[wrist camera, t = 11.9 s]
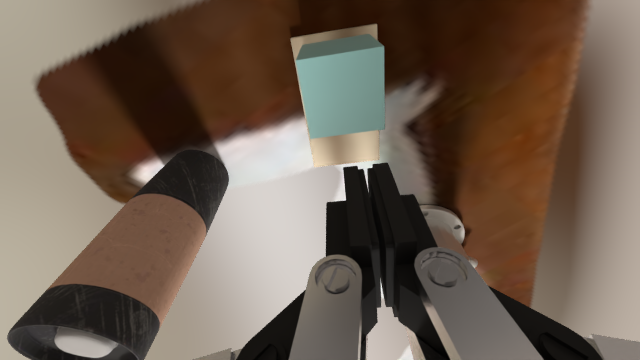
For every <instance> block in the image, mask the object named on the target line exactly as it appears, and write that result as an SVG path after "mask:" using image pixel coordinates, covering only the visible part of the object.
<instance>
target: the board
mask: <svg viewBox="0 0 640 360" xmlns="http://www.w3.org/2000/svg"><path fill="white" fill-rule="evenodd" d="M364 34H370V35H371V36H373V37H374V38H375V39H376V40H377V24H370V25H364V26H358V27H352V28H346V29H340V30H334V31H328V32H322V33H316V34H310V35H304V36H298V37H292V38H291V44H292V50H293V55H294V60H295V66H296V71H297V65H296V58H297V56H298V54H299V51H300V49H301V47H302V45H304V44H310V43H316V42H322V41H328V40H334V39H340V38H346V37H352V36H358V35H364ZM297 76H298V71H297ZM298 82H299V87H300V81H299V76H298ZM300 92H301V87H300ZM301 98H302V103H303V97H302V92H301ZM303 109H304V114H305V119H306V125H307V130H308V135H309V141H310V146H311V151H312V157H313V162H314V167H321V166H330V165H338V164H347V163H355V162H364V161H372V160H379V130H375V131H367V132H360V133H352V134H345V135H337V136H329V137H322V138H314V139H310V134H309V129H308V124H307V118H306V113H305V108H304V103H303Z"/></svg>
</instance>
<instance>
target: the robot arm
mask: <svg viewBox="0 0 640 360" xmlns="http://www.w3.org/2000/svg"><path fill="white" fill-rule="evenodd" d="M343 170H344V181H345V192H346V201H337V202H327V208H326V212H327V213H326V257H324V258H323V259H321V260H319V261H318V262H317V263H316V264H315V265H314V266H313V267H312V270H311V272H310V275H309V279H308V284H307V287H306V290H305V291H304V292H303V293H301V294H300V295H299V296H298V297H297V298H296V299H295V300H294V301H293V302H292V303H290V304H289V305H288V306H287V307H286V308H285V309H284V310H283V311H282V312H280V314H278V315H277V316H276V317H275V318H274V319H273V320H272V321H271V322H270V323H268V324H267V325H266V326H265V327H264V328H263V329H262V330H261V331H260V332H258V333H257V334H256V335H255V336H254V337H253V338H252V339H251V340H250V341H248V343H247V344H246V345H245V346H244V347H243V348H242V349H239V350H236V351H233V350H232V349H227V350H224V351H220V352H217V353H214V354H211V355H207V356H203V357H200V358H197V359H193V360H367V340H368V338H367V334H368V333H369V332H370V331H371V329H372V328H373V327H374V326H375V324H376V323H377V308H378V307H381V286H380V278H381V284H382V289H383V294H384V299H385V304H386V307H392V309H393V313H394V317H398V319H399V321H400V322H401V323H402V324H403V325H405V326H406V330H407V334H408V338H409V343H410V347H411V351H412V355H413V359H414V360H640V342H636V341H629V340H624V339H618V338H611V337H606V336H600V335H594V334H591V335H590V336H589V337H588V338H586V337H582V336H580V335H578V334H577V333H575V332H574V331H572V330H571V329H569V328H567V327H565V326H563V325H561V324H560V323H558V322H556V321H554V320H552V319H550V318H548V317H546V316H545V315H543V314H541V313H539V312H537V311H535V310H533V309H531V308H529V307H527V306H526V305H524V304H522V303H520V302H518V301H516V300H514V299H512V298H510V297H508V296H507V295H505V294H503V293H501V292H499V291H497V290H495V289H493V288H491V287H490V286H488V285H487V284H486V283H485V282H484V280H483V279H482V278H481V276H480V275H479V274H478V272H477V271H476V270H475V267H476V266H477V264H478V262H477V260H476V259H475V258H472V257H469V256H467V254H466V253H465V251H464V249H463V247H462V245H461V244H462V243H463V240H464V237H465V230H464V226H463V224H462V222H461V220H460V219H459V218H458V216H457V215H456V214H455V213H453V212H452V211H450V210H448V209H446V208H444V207H440V206H435V205H420V206H419V204H418V202H417V200H416V198H415V196H414V195H413V194H410V195H400V194H399V191H398V188H397V186H396V183H395V180H394V178H393V175H392V173H391V170H390V167H389V165H388V163H380V164H373V168H368V189H369V193H368V189H367V184H366V179H365V175H364V170H363V169H359V170H358V167H357V166H352V167H343Z"/></svg>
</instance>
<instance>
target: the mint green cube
mask: <svg viewBox="0 0 640 360" xmlns="http://www.w3.org/2000/svg"><path fill="white" fill-rule="evenodd" d="M296 65H297V71H298V76H299V81H300V87H301V92H302V97H303V103H304V108H305V113H306V118H307V124H308V129H309V134H310V139H314V138H322V137H329V136H337V135H345V134H352V133H360V132H367V131H375V130H383V129H385V102H384V46H383V45H382V44H381V43H380V42H378V41H377V40H376V39H375V38H374V37H373V36H371V35H370V34H364V35H358V36H352V37H346V38H340V39H334V40H328V41H322V42H316V43H310V44H304V45H302V47H301V49H300V51H299V54H298V56H297V58H296Z"/></svg>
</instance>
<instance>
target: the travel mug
mask: <svg viewBox="0 0 640 360" xmlns="http://www.w3.org/2000/svg"><path fill="white" fill-rule="evenodd" d="M228 182H229V177H228V173H227V171H226V169H225V167H224V166H223V164H222V163H221V162H220V161H219V160H218V159H216V158H215V157H213V156H212V155H210V154H208V153H205V152H202V151H197V150H188V151H183V152H181V153H179V154H177V155H176V156H175V157H173V158H172V159H171V160H170V161H169V162H168V163H167V164H166V165H165V166H164V167H163V168H162V169H161V170H160V171H159V172H158V173H157V174H156V175H155V176H154V177H153V178H152V179H151V180H150V181H149V182H148V183H147V184H146V185H145V186H144V187H143V188H142V189H141V190H140V191H139V192H138V193H137V194H135V195H134V196H133V197H132V198H131V199H130V200H129V201H128V202H127V203H126V205H125V206H124V207H123V208H122V209H121V210H120V211H119V212H118V213H117V214H116V215H115V216H114V218H113V219H112V220H111V221H110V222H109V223H108V224H107V225H106V226H105V227H104V228H103V229H102V231H101V232H100V233H99V234H98V235H97V236H96V237H95V238H94V239H93V240H92V241H91V243H90V244H89V245H88V246H87V247H86V248H85V249H84V250H83V251H82V252H81V253H80V254H79V255H78V257H77V258H76V259H75V260H74V261H73V262H72V263H71V264H70V265H69V266H68V268H67V269H66V270H65V271H64V272H63V273H62V274H61V275H60V276H59V277H58V278H57V279H56V281H55V282H54V283H53V284H52V285H51V286H50V287H49V288H48V289H47V290H46V291H45V293H44V294H43V295H42V296H41V297H40V298H39V299H38V300H37V301H36V302H35V303H34V304H33V305H32V306H31V307H30V309H29V310H28V311H27V312H26V313H25V314H24V315H23V316H22V317H21V318H20V320H18V322H17V323H16V324H15V325H14V326H13V327H12V328H11V330H10V331H9V333H8V337H7V339H8V342H9V344H10V345H11V346H12V347H13V348H14V349H15V350H16V351H18V352H19V353H20V354H22V355H23V356H25V357H27V358H29V359H31V360H144V359H145V356H146V354H147V352H148V351H149V349H150V347H151V345H152V343H153V341H154V339H155V336H156V334H157V333H158V331H159V328H160V327H161V325H162V323H163V321H164V319H165V317H166V315H167V313H168V311H169V309H170V307H171V305H172V302H173V301H174V299H175V297H176V295H177V293H178V291H179V289H180V287H181V285H182V283H183V281H184V279H185V277H186V275H187V273H188V271H189V269H190V267H191V265H192V263H193V261H194V259H195V257H196V254H197V253H198V251H199V249H200V247H201V245H202V243H203V241H204V239H205V237H206V234H207V232H208V230H209V228H210V225H211V223H212V221H213V219H214V216H215V214H216V212H217V210H218V207H219V205H220V203H221V200H222V198H223V196H224V193H225V191H226V189H227V186H228Z"/></svg>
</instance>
